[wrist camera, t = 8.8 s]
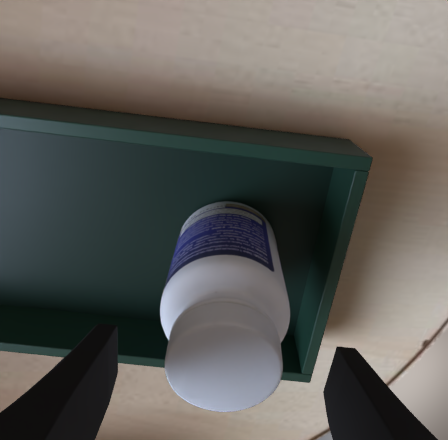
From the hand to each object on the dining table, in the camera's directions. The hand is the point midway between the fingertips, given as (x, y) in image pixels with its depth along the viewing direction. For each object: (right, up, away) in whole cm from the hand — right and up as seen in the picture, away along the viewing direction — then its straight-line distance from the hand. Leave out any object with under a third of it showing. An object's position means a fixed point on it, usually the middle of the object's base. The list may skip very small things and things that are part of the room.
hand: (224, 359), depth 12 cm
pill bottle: (0, +3, +8) cm, 9 cm away
